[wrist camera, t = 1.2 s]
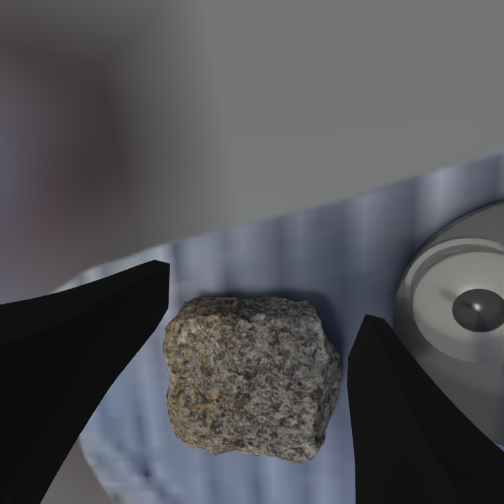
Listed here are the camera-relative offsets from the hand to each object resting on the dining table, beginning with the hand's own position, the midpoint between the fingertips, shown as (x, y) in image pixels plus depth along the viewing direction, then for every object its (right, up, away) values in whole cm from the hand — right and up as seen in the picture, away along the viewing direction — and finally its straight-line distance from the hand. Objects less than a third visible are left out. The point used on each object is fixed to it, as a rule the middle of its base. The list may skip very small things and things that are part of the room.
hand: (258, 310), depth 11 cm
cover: (+12, 0, +6) cm, 13 cm away
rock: (0, -7, +16) cm, 18 cm away
